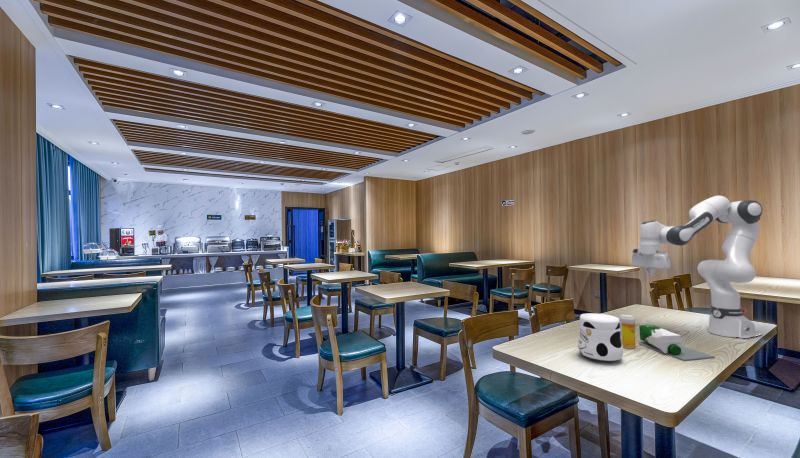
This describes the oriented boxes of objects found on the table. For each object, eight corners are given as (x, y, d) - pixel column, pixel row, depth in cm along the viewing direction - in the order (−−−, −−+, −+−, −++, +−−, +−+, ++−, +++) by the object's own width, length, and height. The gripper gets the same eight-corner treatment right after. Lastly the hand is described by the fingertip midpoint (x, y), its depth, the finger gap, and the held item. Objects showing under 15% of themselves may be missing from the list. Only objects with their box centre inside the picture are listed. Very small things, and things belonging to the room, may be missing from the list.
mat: (666, 342, 170) (666, 340, 170) (714, 357, 148) (714, 356, 148) (639, 344, 167) (639, 343, 167) (684, 361, 145) (684, 359, 145)
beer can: (637, 349, 161) (637, 317, 161) (623, 348, 162) (622, 317, 162) (631, 345, 166) (631, 314, 167) (618, 344, 168) (617, 314, 168)
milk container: (569, 354, 156) (568, 314, 156) (597, 349, 162) (596, 311, 162) (604, 368, 140) (602, 324, 140) (633, 361, 146) (632, 319, 146)
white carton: (638, 341, 171) (666, 356, 151) (637, 323, 171) (665, 335, 151) (656, 340, 170) (687, 355, 150) (655, 322, 170) (686, 335, 150)
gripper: (673, 251, 175) (674, 278, 175) (638, 249, 195) (639, 273, 195) (663, 251, 174) (663, 278, 174) (629, 249, 194) (629, 274, 194)
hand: (650, 275), depth 185 cm, fingers closed
